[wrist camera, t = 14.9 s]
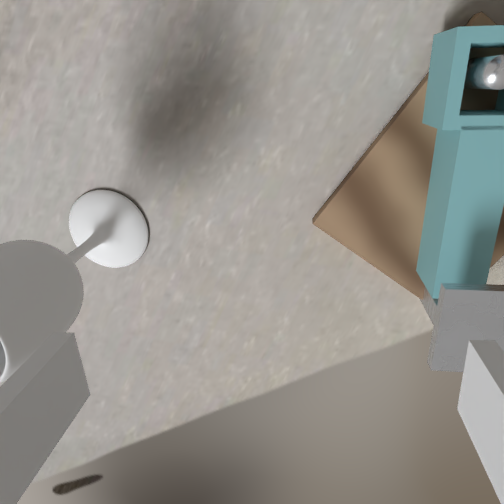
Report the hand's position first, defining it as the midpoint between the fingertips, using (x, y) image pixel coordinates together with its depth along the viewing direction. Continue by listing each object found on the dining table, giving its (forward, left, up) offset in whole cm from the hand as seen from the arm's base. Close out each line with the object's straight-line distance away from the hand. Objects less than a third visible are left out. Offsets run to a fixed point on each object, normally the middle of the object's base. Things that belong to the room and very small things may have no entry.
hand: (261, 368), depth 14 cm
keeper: (-2, +17, -28) cm, 32 cm away
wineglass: (+15, -12, -28) cm, 34 cm away
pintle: (-16, +7, -28) cm, 33 cm away
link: (-10, +11, -26) cm, 30 cm away
